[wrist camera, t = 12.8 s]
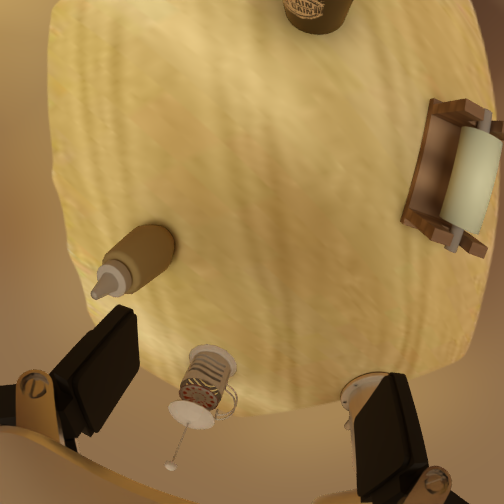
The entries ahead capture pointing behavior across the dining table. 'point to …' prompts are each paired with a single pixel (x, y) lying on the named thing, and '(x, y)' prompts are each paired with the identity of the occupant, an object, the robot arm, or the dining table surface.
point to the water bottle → (317, 14)
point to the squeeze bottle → (134, 261)
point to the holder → (442, 170)
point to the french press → (202, 389)
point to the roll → (471, 180)
